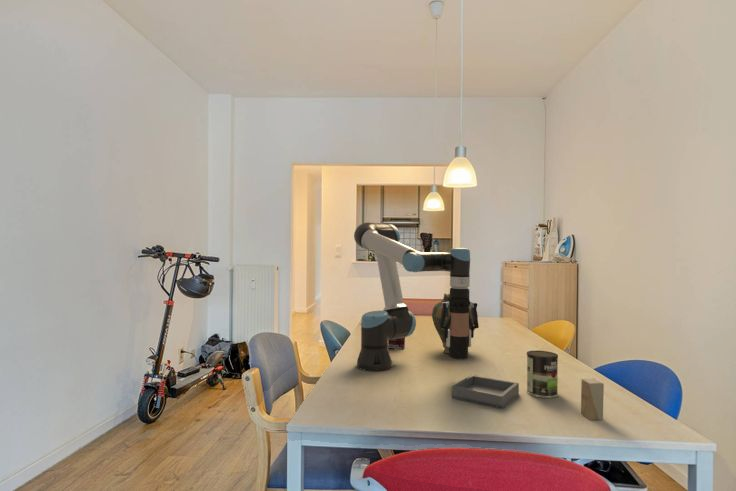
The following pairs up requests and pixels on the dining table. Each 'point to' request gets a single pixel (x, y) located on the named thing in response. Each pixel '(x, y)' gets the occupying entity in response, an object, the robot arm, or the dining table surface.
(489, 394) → the bin
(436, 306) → the vase
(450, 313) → the travel mug
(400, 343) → the supplement box
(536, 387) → the coffee can
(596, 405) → the box
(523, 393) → the dining table surface
